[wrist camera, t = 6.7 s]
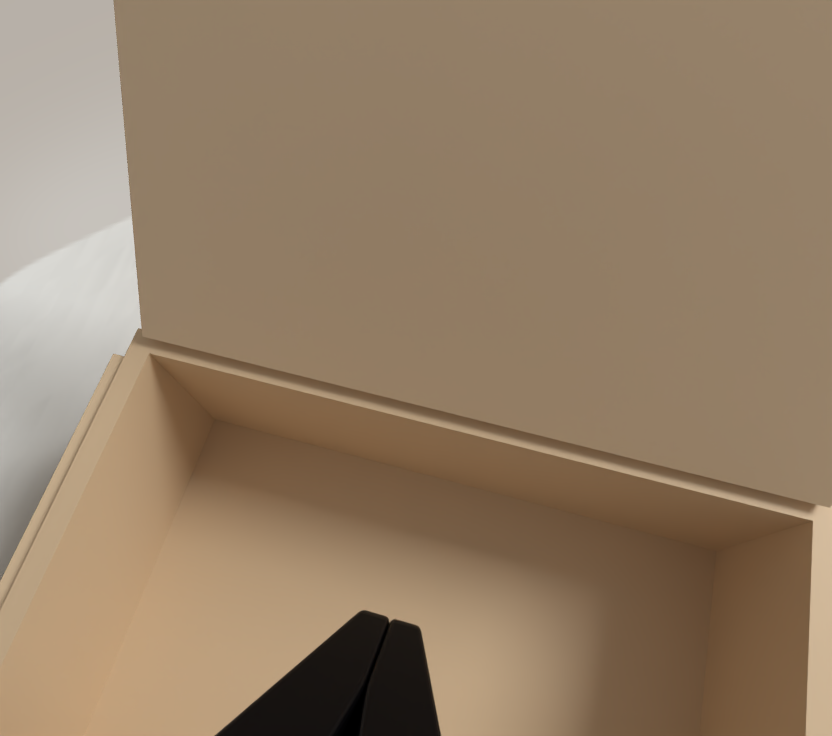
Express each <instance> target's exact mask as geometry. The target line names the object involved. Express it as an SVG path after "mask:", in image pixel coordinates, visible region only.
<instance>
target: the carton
mask: <svg viewBox="0 0 832 736" xmlns="http://www.w3.org/2000/svg"><path fill="white" fill-rule="evenodd" d="M362 610H367V611H370V612H374V613H377V614H380V615H384V616H386V617H388V619H389V622H391V621H392V620H393V619H397V620H401V621H404V622H408V623H411V624H414V625H417V626H419V628H420V629H421V632H422V637H423V642H424V648H425V653H426V658H427V664H428V669H429V674H430V679H431V685H432V690H433V695H434V701H435V706H436V711H437V716H438V722H439V727H440V732H441V736H832V505H831V507H830V508H828V507H824V506H820V505H816V504H812V503H808V502H804V501H800V500H796V499H792V498H788V497H784V496H780V495H776V494H772V493H768V492H764V491H760V490H756V489H752V488H748V487H744V486H740V485H736V484H732V483H728V482H724V481H720V480H716V479H712V478H708V477H704V476H700V475H696V474H692V473H688V472H684V471H680V470H676V469H672V468H668V467H664V466H660V465H656V464H652V463H648V462H644V461H640V460H636V459H632V458H628V457H624V456H620V455H616V454H612V453H608V452H604V451H600V450H596V449H592V448H588V447H584V446H580V445H576V444H572V443H568V442H564V441H560V440H556V439H552V438H548V437H544V436H540V435H536V434H532V433H528V432H524V431H520V430H516V429H512V428H507V427H503V426H499V425H495V424H491V423H487V422H483V421H479V420H475V419H471V418H467V417H463V416H459V415H455V414H451V413H447V412H443V411H439V410H435V409H431V408H427V407H423V406H419V405H415V404H411V403H407V402H403V401H399V400H395V399H391V398H387V397H383V396H379V395H375V394H371V393H367V392H363V391H359V390H355V389H351V388H347V387H343V386H339V385H335V384H331V383H327V382H323V381H319V380H315V379H311V378H307V377H303V376H299V375H295V374H291V373H287V372H283V371H279V370H275V369H271V368H267V367H263V366H259V365H255V364H251V363H247V362H243V361H239V360H235V359H231V358H227V357H223V356H219V355H215V354H211V353H207V352H203V351H199V350H195V349H191V348H187V347H183V346H179V345H175V344H171V343H167V342H163V341H159V340H155V339H151V338H147V337H143V336H142V329H139V328H138V330H137V332H136V334H135V336H134V338H133V340H132V342H131V344H130V346H129V348H128V350H127V352H126V354H125V356H120V355H116V354H113V356H112V358H111V360H110V362H109V364H108V366H107V368H106V370H105V372H104V374H103V376H102V378H101V380H100V382H99V384H98V386H97V388H96V390H95V392H94V394H93V396H92V398H91V400H90V402H89V404H88V406H87V408H86V410H85V412H84V414H83V416H82V418H81V420H80V422H79V424H78V426H77V428H76V430H75V432H74V434H73V436H72V438H71V440H70V442H69V444H68V446H67V448H66V450H65V452H64V454H63V456H62V458H61V460H60V462H59V464H58V466H57V468H56V470H55V472H54V474H53V476H52V478H51V480H50V482H49V484H48V486H47V488H46V490H45V492H44V494H43V496H42V498H41V500H40V502H39V504H38V506H37V508H36V510H35V512H34V514H33V516H32V518H31V520H30V522H29V524H28V526H27V528H26V530H25V532H24V534H23V536H22V538H21V540H20V542H19V544H18V547H17V549H16V551H15V553H14V555H13V557H12V559H11V561H10V563H9V565H8V567H7V569H6V571H5V573H4V575H3V577H2V579H1V581H0V736H215V735H216V734H217V733H218V732H219V731H220V730H222V729H223V728H224V727H225V726H226V725H227V724H229V723H230V722H231V721H232V720H233V719H234V718H236V717H237V716H238V715H239V714H240V713H241V712H243V711H244V710H245V709H246V708H247V707H248V706H250V705H251V704H252V703H253V702H254V701H255V700H257V699H258V698H259V697H260V696H261V695H262V694H264V693H265V692H266V691H267V690H268V689H269V688H271V687H272V686H273V685H274V684H275V683H276V682H278V681H279V680H280V679H281V678H282V677H283V676H285V675H286V674H287V673H288V672H289V671H290V670H292V669H293V668H294V667H295V666H296V665H297V664H299V663H300V662H301V661H302V660H303V659H304V658H306V657H307V656H308V655H309V654H310V653H311V652H313V651H314V650H315V649H316V648H317V647H318V646H320V645H321V644H322V643H323V642H324V641H325V640H327V639H328V638H329V637H330V636H331V635H332V634H334V633H335V632H336V631H337V630H338V629H339V628H341V627H342V626H343V625H344V624H345V623H346V622H348V621H349V620H350V619H351V618H352V617H353V616H355V615H356V614H357V613H358V612H360V611H362Z"/></svg>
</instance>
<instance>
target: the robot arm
mask: <svg viewBox="0 0 832 736" xmlns="http://www.w3.org/2000/svg"><path fill="white" fill-rule="evenodd" d="M215 736H441V732H440V727H439V722H438V716H437V711H436V706H435V701H434V695H433V690H432V685H431V679H430V674H429V669H428V664H427V658H426V653H425V648H424V642H423V637H422V632H421V629H420V628H419V626H417V625H414V624H411V623H408V622H404V621H401V620H397V619H393V620H392V621H391V622H389V619H388V617H386V616H384V615H380V614H377V613H374V612H370V611H367V610H362V611H360V612H358V613H357V614H356V615H355V616H353V617H352V618H351V619H350V620H349V621H348V622H346V623H345V624H344V625H343V626H342V627H341V628H339V629H338V630H337V631H336V632H335V633H334V634H332V635H331V636H330V637H329V638H328V639H327V640H325V641H324V642H323V643H322V644H321V645H320V646H318V647H317V648H316V649H315V650H314V651H313V652H311V653H310V654H309V655H308V656H307V657H306V658H304V659H303V660H302V661H301V662H300V663H299V664H297V665H296V666H295V667H294V668H293V669H292V670H290V671H289V672H288V673H287V674H286V675H285V676H283V677H282V678H281V679H280V680H279V681H278V682H276V683H275V684H274V685H273V686H272V687H271V688H269V689H268V690H267V691H266V692H265V693H264V694H262V695H261V696H260V697H259V698H258V699H257V700H255V701H254V702H253V703H252V704H251V705H250V706H248V707H247V708H246V709H245V710H244V711H243V712H241V713H240V714H239V715H238V716H237V717H236V718H234V719H233V720H232V721H231V722H230V723H229V724H227V725H226V726H225V727H224V728H223V729H222V730H220V731H219V732H218V733H217V734H216V735H215Z"/></svg>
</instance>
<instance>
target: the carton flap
mask: <svg viewBox="0 0 832 736" xmlns="http://www.w3.org/2000/svg"><path fill="white" fill-rule="evenodd" d="M114 10H115V23H116V35H117V46H118V58H119V70H120V81H121V92H122V105H123V116H124V128H125V139H126V151H127V163H128V173H129V186H130V198H131V209H132V221H133V233H134V244H135V256H136V268H137V279H138V291H139V303H140V314H141V326H142V336H143V337H147V338H151V339H155V340H159V341H163V342H167V343H171V344H175V345H179V346H183V347H187V348H191V349H195V350H199V351H203V352H207V353H211V354H215V355H219V356H223V357H227V358H231V359H235V360H239V361H243V362H247V363H251V364H255V365H259V366H263V367H267V368H271V369H275V370H279V371H283V372H287V373H291V374H295V375H299V376H303V377H307V378H311V379H315V380H319V381H323V382H327V383H331V384H335V385H339V386H343V387H347V388H351V389H355V390H359V391H363V392H367V393H371V394H375V395H379V396H383V397H387V398H391V399H395V400H399V401H403V402H407V403H411V404H415V405H419V406H423V407H427V408H431V409H435V410H439V411H443V412H447V413H451V414H455V415H459V416H463V417H467V418H471V419H475V420H479V421H483V422H487V423H491V424H495V425H499V426H503V427H507V428H512V429H516V430H520V431H524V432H528V433H532V434H536V435H540V436H544V437H548V438H552V439H556V440H560V441H564V442H568V443H572V444H576V445H580V446H584V447H588V448H592V449H596V450H600V451H604V452H608V453H612V454H616V455H620V456H624V457H628V458H632V459H636V460H640V461H644V462H648V463H652V464H656V465H660V466H664V467H668V468H672V469H676V470H680V471H684V472H688V473H692V474H696V475H700V476H704V477H708V478H712V479H716V480H720V481H724V482H728V483H732V484H736V485H740V486H744V487H748V488H752V489H756V490H760V491H764V492H768V493H772V494H776V495H780V496H784V497H788V498H792V499H796V500H800V501H804V502H808V503H812V504H816V505H820V506H824V507H828V508H830V507H831V505H832V0H114Z"/></svg>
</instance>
